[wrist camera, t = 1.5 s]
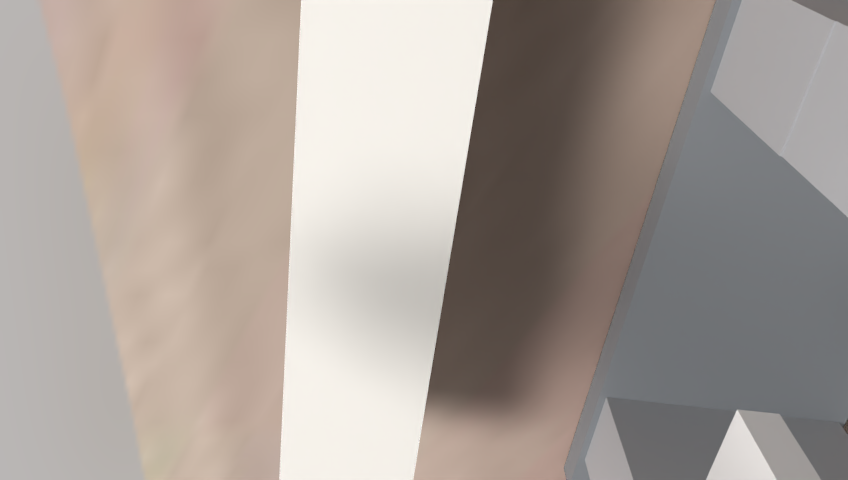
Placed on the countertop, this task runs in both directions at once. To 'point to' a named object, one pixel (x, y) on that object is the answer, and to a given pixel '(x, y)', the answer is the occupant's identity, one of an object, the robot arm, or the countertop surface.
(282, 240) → the countertop surface
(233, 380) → the countertop surface
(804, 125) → the bracket stand
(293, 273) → the rail
